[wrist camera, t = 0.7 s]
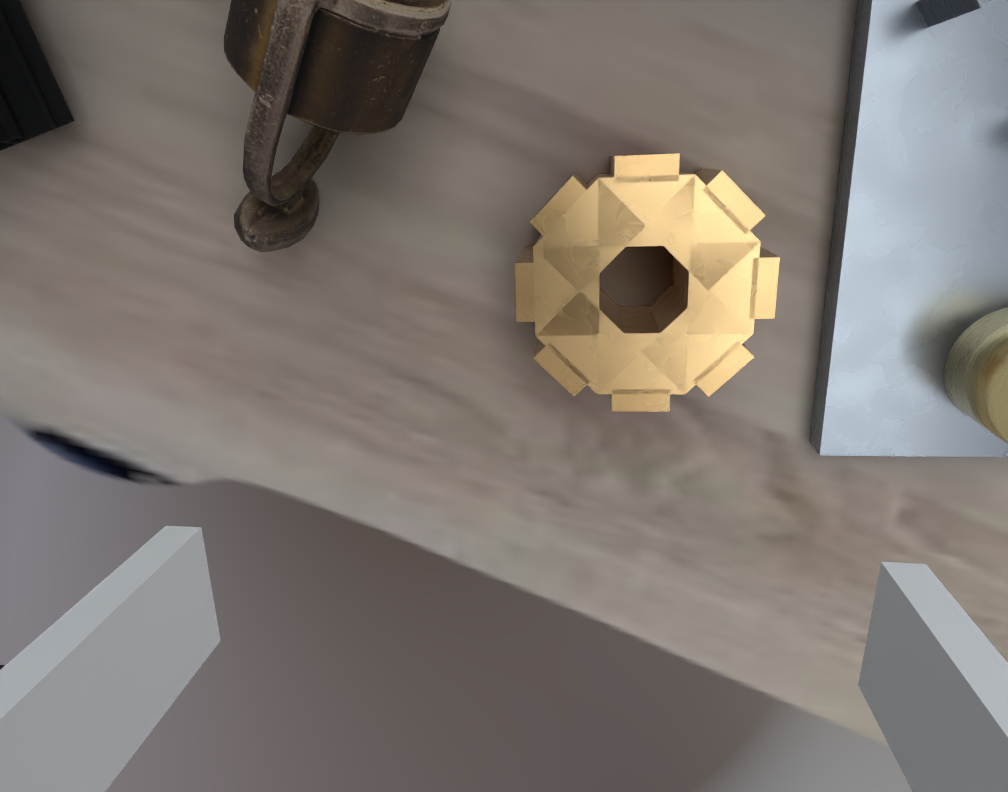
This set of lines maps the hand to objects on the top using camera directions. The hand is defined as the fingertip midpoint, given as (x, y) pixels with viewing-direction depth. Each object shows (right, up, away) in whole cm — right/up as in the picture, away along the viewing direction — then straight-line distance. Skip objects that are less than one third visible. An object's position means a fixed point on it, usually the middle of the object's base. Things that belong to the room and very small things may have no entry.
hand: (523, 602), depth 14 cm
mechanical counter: (-6, +16, +16) cm, 23 cm away
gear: (+5, +10, +17) cm, 20 cm away
